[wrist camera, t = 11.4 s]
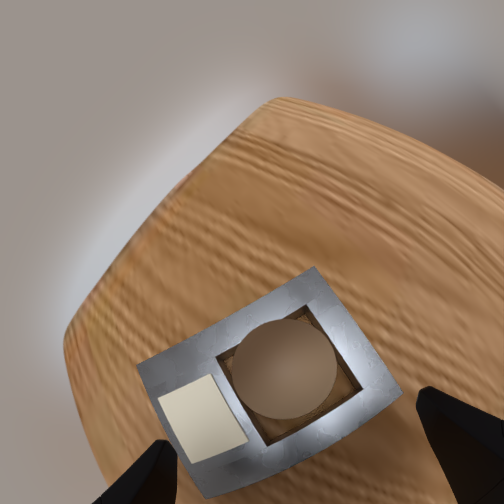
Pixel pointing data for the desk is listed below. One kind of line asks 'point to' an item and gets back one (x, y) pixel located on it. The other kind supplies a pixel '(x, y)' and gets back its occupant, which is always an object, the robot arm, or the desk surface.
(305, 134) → the desk surface
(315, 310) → the hole plate
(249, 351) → the walnut peg
